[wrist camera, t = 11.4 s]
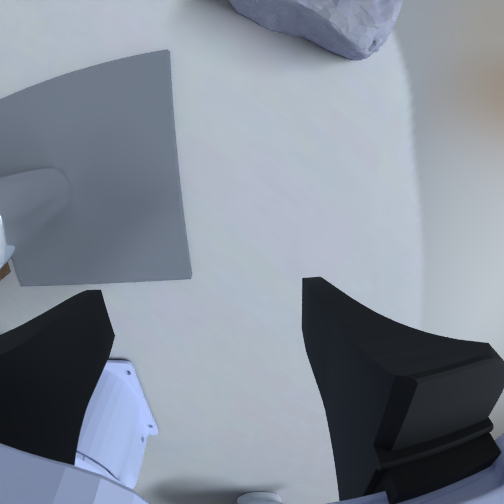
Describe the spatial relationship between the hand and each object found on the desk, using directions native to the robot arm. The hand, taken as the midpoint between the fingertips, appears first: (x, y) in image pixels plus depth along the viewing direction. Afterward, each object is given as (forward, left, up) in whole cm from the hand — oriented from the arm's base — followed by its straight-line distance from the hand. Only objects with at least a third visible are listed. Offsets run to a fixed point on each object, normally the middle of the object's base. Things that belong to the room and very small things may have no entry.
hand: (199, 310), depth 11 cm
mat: (+4, +9, -9) cm, 14 cm away
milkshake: (+4, +11, -9) cm, 14 cm away
